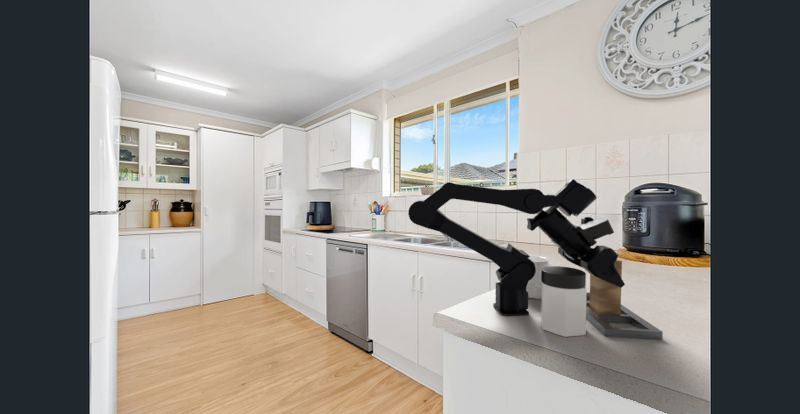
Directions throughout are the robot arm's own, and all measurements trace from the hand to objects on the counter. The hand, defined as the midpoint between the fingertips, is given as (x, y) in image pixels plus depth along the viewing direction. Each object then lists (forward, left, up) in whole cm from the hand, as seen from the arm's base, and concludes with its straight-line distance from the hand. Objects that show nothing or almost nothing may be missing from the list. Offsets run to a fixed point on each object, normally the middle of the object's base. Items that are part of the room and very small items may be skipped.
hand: (611, 279), depth 71 cm
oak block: (-1, 0, -8) cm, 8 cm away
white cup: (-11, +15, -8) cm, 21 cm away
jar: (-14, -6, -8) cm, 18 cm away
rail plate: (-1, 0, -8) cm, 8 cm away
